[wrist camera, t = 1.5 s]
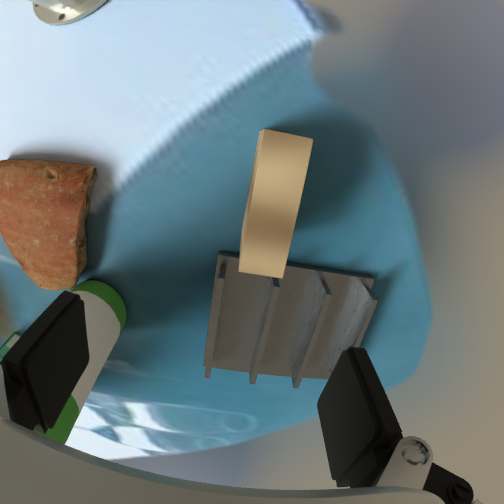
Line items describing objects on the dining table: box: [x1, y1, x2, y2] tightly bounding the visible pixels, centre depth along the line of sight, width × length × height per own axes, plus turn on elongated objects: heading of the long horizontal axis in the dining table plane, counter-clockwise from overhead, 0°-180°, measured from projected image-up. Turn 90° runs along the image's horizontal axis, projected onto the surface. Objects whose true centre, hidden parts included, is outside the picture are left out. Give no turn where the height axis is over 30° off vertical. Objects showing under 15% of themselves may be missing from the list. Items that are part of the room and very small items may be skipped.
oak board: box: [238, 129, 313, 278], centre depth 25 cm, size 10×3×10 cm, turn 170°
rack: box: [203, 251, 378, 388], centre depth 33 cm, size 15×17×4 cm
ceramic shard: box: [0, 159, 97, 290], centre depth 29 cm, size 15×6×15 cm
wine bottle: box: [33, 280, 127, 444], centre depth 20 cm, size 8×8×30 cm
